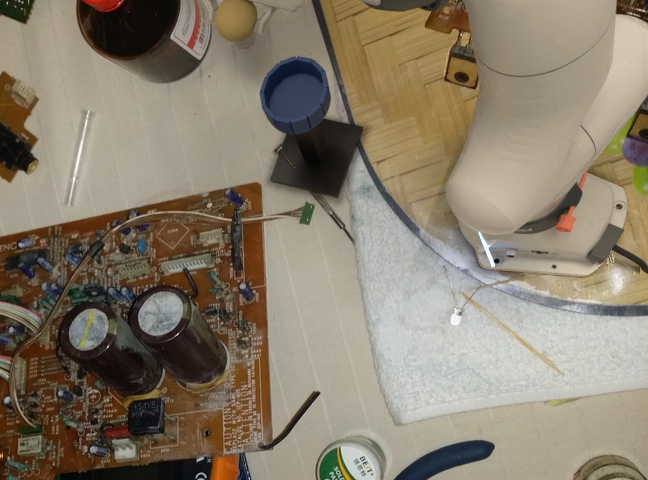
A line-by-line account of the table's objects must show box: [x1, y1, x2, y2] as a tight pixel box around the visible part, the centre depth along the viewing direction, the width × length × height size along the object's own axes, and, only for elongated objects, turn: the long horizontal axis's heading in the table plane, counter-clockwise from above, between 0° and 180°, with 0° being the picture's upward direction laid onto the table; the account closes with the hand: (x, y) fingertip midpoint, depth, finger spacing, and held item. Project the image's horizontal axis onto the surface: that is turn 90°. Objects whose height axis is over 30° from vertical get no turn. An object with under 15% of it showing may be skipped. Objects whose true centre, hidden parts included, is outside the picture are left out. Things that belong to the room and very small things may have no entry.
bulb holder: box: [259, 55, 332, 135], centre depth 97 cm, size 9×9×4 cm
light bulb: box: [214, 0, 258, 51], centre depth 109 cm, size 6×6×10 cm
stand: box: [269, 118, 364, 199], centre depth 109 cm, size 12×12×22 cm
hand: (237, 27), depth 108 cm, fingers closed on light bulb, 6 cm apart
